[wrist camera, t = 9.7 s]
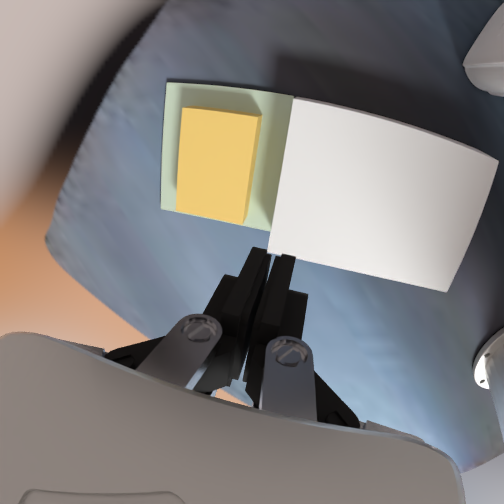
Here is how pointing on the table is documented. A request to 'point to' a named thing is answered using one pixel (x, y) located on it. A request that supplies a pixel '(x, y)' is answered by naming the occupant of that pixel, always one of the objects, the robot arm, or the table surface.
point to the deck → (377, 195)
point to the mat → (269, 144)
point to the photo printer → (488, 56)
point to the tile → (217, 162)
